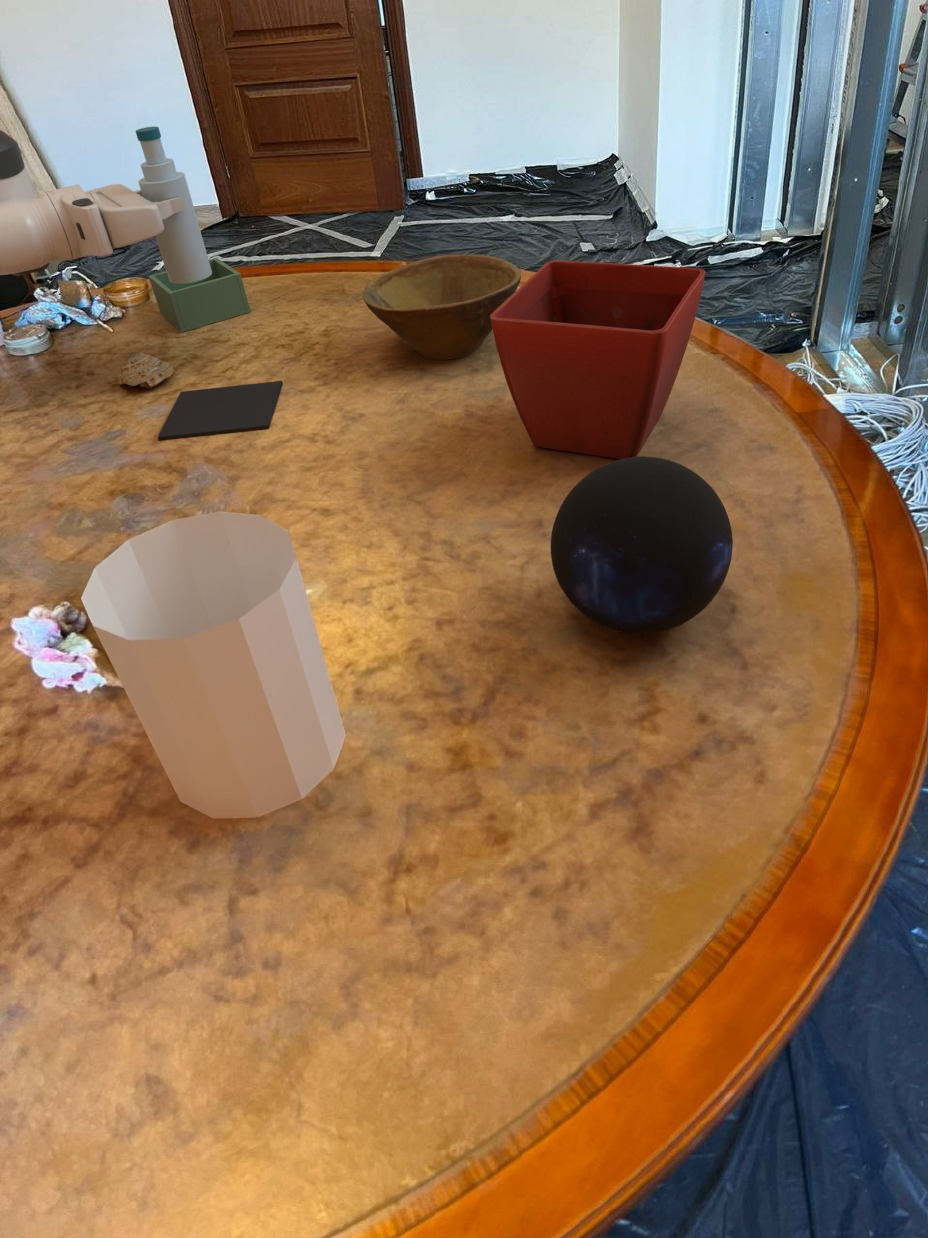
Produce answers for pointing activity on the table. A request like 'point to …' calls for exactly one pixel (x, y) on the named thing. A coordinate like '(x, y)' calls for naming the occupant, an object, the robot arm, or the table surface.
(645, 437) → the flower pot
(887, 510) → the table surface
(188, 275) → the bottle
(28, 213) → the robot arm
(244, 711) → the container
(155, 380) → the seashell
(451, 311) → the bowl
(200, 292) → the green open box
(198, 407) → the mat
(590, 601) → the decorative sphere
